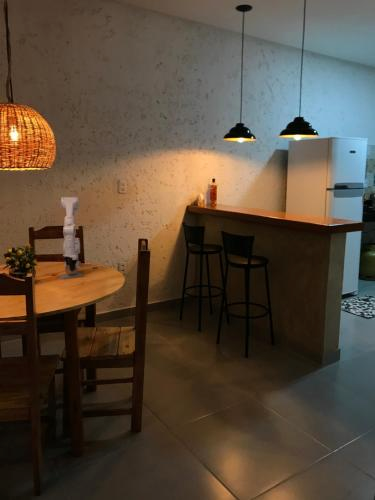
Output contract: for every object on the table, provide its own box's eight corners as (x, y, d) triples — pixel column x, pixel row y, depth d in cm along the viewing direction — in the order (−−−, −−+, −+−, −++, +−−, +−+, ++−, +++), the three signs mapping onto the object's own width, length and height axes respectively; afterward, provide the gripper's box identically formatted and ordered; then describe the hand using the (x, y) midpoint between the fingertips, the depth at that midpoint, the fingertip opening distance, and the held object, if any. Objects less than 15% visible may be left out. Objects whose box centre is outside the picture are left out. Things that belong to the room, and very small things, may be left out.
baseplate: (58, 276, 234) (58, 275, 233) (79, 273, 240) (79, 272, 240) (62, 279, 228) (62, 278, 228) (83, 276, 235) (83, 275, 234)
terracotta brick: (67, 273, 242) (67, 266, 241) (75, 272, 245) (75, 265, 244) (70, 274, 239) (70, 268, 238) (78, 273, 241) (77, 267, 240)
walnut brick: (65, 272, 234) (65, 265, 233) (73, 271, 237) (73, 264, 236) (68, 273, 230) (67, 267, 230) (76, 272, 233) (75, 266, 232)
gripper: (58, 245, 234) (59, 268, 237) (67, 249, 223) (68, 273, 225) (71, 244, 238) (71, 266, 241) (79, 248, 226) (80, 272, 229)
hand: (70, 269), depth 233 cm, fingers closed on walnut brick, 4 cm apart
